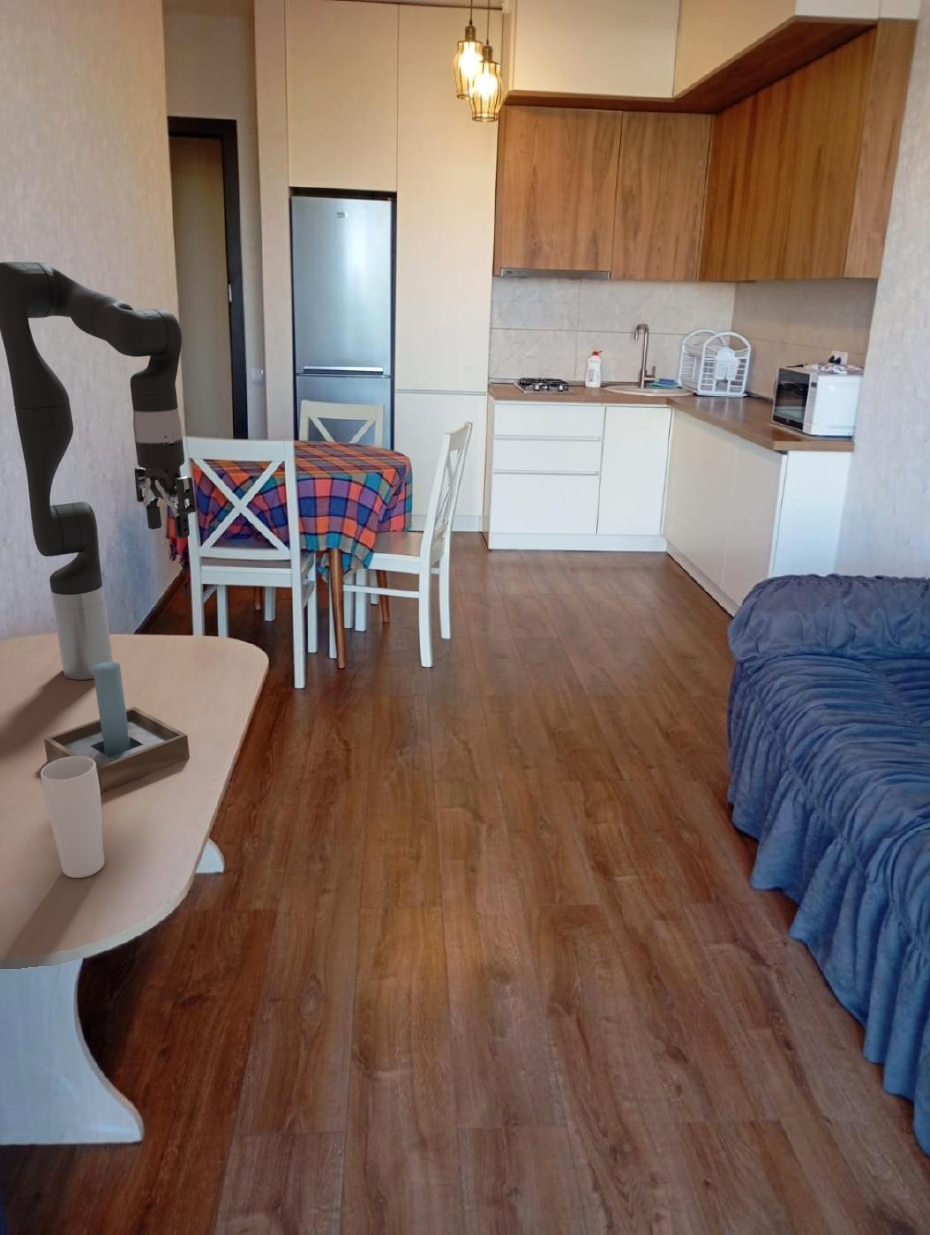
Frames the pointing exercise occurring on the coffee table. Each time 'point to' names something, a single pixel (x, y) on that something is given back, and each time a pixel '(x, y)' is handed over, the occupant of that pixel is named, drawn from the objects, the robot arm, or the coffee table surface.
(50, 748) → the walnut crate
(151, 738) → the grey metal bore plate
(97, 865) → the drinking glass
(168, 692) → the coffee table surface
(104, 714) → the blue-grey painted peg
